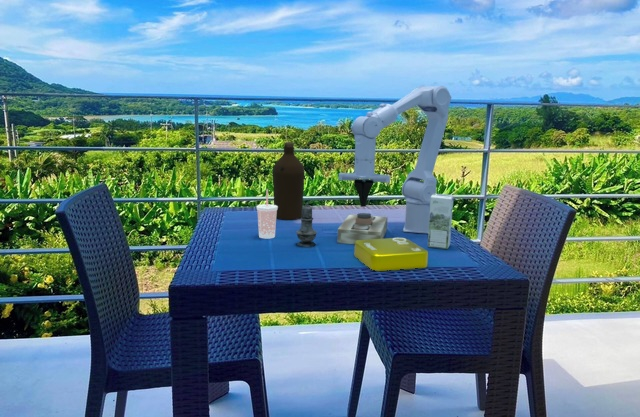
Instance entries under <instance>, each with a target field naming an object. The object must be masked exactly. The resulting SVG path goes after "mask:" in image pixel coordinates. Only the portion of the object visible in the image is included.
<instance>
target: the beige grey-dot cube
mask: <svg viewBox="0 0 640 417" xmlns="http://www.w3.org/2000/svg"><path fill="white" fill-rule="evenodd" d="M356 215H357V217H356V221H355V224H360V225H372V216H373V215H372V214H371V213H367V212H360V213H359V212H358V213H356Z"/></svg>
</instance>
